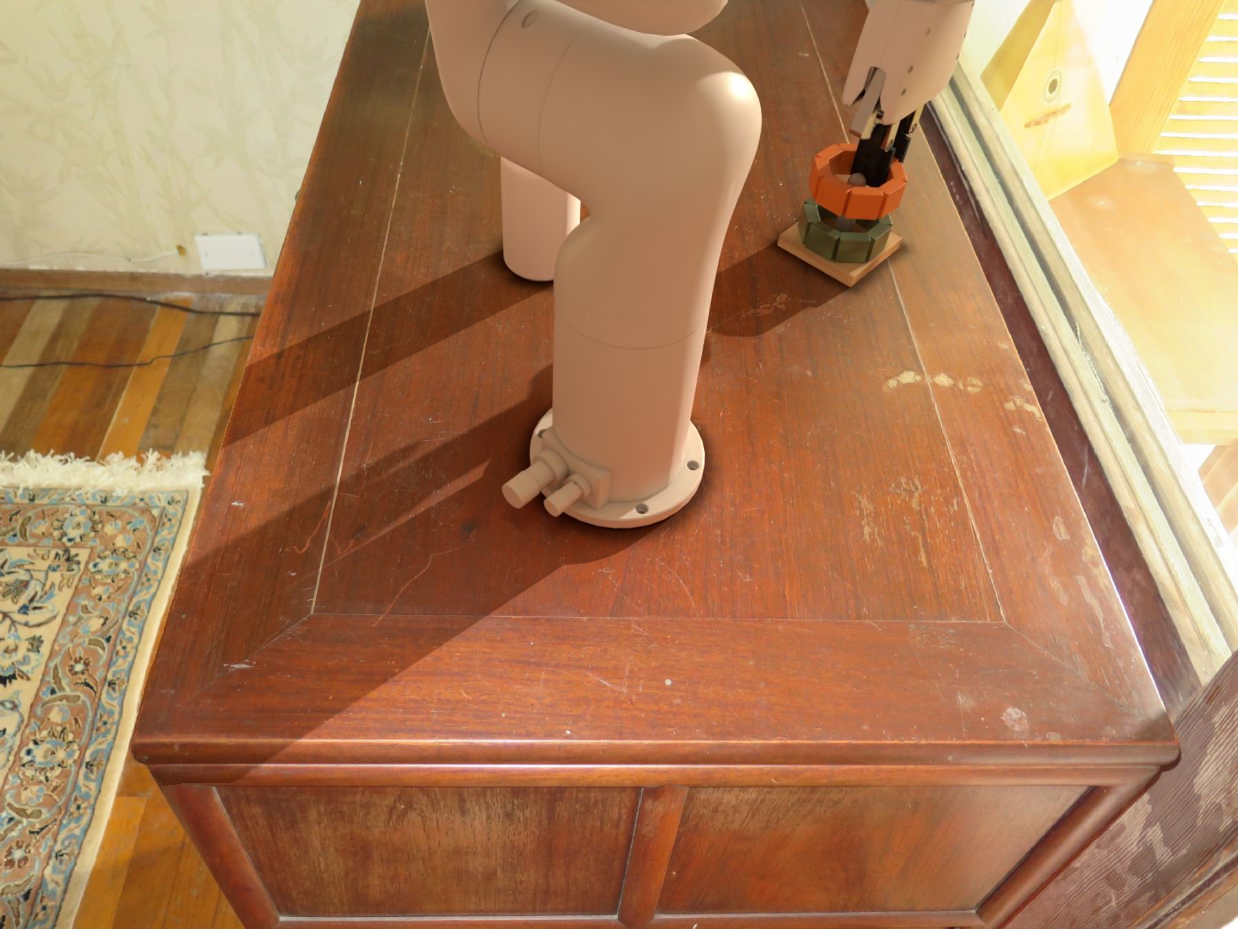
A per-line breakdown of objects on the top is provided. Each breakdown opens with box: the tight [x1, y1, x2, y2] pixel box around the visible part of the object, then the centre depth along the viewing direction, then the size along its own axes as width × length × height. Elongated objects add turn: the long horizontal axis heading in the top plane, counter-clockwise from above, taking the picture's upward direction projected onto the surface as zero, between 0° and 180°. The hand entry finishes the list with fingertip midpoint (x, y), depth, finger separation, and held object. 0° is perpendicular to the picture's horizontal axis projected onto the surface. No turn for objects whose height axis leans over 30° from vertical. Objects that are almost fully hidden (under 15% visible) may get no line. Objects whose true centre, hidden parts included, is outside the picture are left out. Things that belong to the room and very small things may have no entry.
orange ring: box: [808, 142, 908, 220], centre depth 84 cm, size 8×8×2 cm
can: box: [499, 156, 582, 283], centre depth 81 cm, size 6×6×12 cm
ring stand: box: [776, 173, 903, 288], centre depth 87 cm, size 8×8×8 cm
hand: (874, 175), depth 87 cm, fingers closed on orange ring, 1 cm apart
